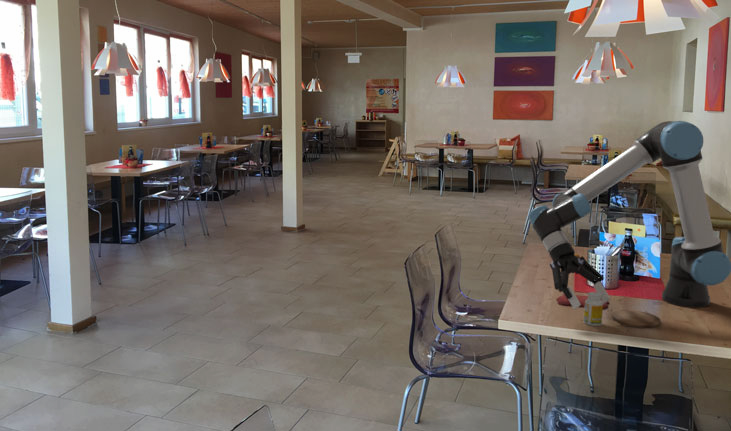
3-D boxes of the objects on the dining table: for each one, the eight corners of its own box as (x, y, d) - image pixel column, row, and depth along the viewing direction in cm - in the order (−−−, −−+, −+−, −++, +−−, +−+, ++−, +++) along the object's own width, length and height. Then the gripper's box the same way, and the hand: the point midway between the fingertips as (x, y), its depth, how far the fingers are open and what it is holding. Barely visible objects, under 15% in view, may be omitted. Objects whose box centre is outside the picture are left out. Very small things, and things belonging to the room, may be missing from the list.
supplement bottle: (580, 323, 194) (582, 293, 192) (587, 319, 198) (589, 290, 196) (597, 327, 190) (599, 297, 189) (604, 323, 194) (606, 293, 192)
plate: (639, 312, 206) (639, 308, 206) (669, 325, 192) (670, 321, 192) (602, 315, 202) (603, 311, 202) (631, 329, 189) (632, 324, 189)
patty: (554, 306, 213) (554, 300, 213) (558, 295, 226) (558, 290, 225) (608, 312, 206) (609, 307, 206) (609, 301, 219) (610, 296, 219)
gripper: (578, 250, 213) (611, 304, 202) (524, 257, 200) (557, 315, 190) (591, 238, 207) (626, 292, 197) (537, 244, 195) (571, 303, 184)
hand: (592, 304), depth 193 cm, fingers open, 13 cm apart
